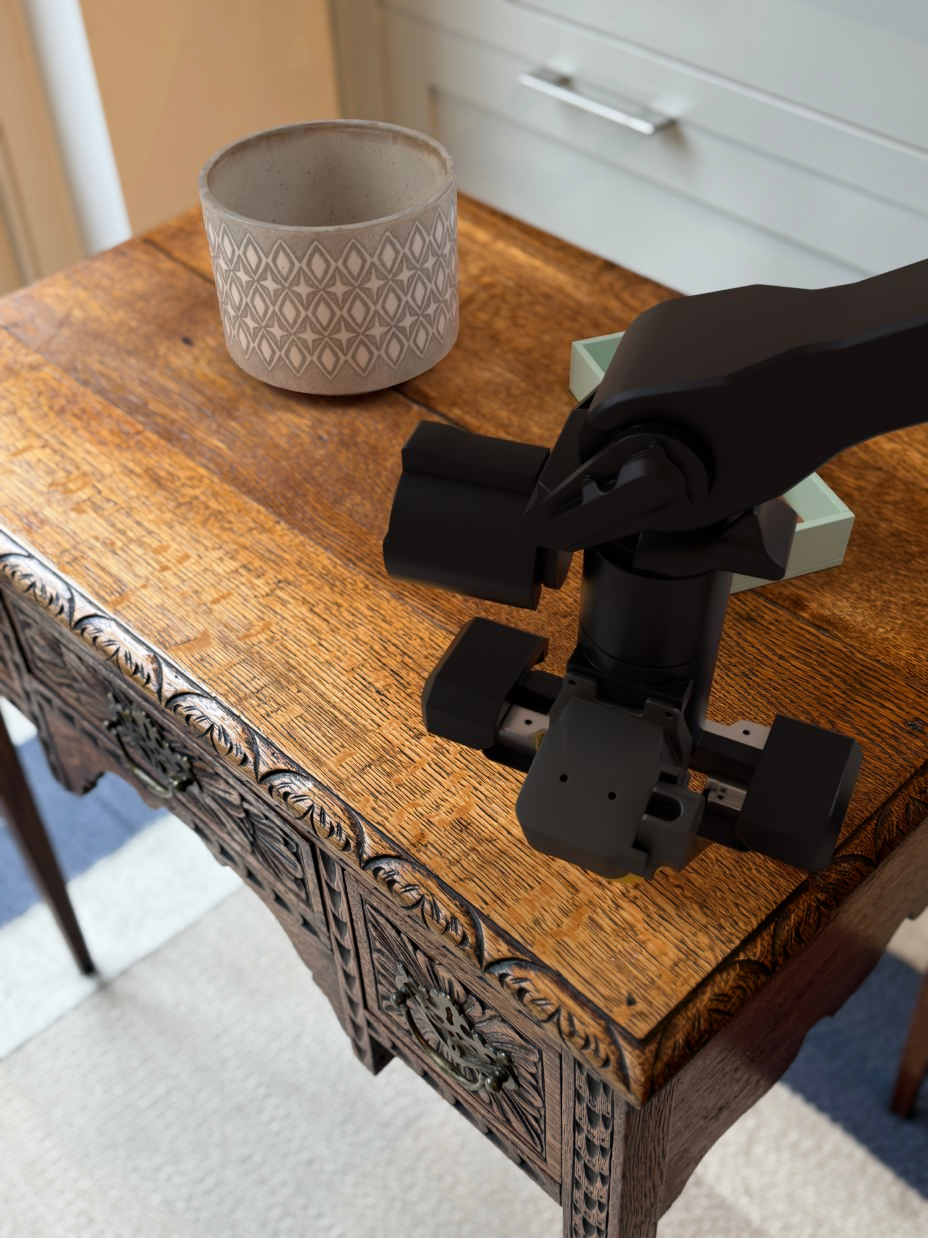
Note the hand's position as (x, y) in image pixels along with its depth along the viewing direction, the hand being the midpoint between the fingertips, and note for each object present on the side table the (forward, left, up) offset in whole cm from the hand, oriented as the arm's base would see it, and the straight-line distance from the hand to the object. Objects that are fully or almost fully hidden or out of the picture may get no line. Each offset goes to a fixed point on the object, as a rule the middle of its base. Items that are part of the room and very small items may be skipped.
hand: (620, 843), depth 58 cm
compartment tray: (+25, -23, -3) cm, 34 cm away
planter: (+52, -8, -3) cm, 53 cm away
